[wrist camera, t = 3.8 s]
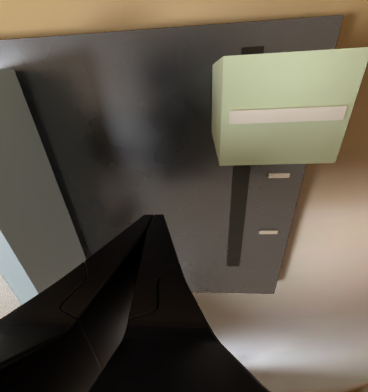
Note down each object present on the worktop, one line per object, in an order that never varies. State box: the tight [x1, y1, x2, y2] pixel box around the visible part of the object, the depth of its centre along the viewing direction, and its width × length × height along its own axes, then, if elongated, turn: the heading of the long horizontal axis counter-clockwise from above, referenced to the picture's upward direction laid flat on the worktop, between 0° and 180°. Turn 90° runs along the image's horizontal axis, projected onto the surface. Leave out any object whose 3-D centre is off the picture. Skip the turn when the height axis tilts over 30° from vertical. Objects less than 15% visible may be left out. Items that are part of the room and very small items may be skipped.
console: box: [0, 15, 343, 294], centre depth 12 cm, size 15×16×1 cm
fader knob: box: [212, 47, 368, 166], centre depth 7 cm, size 2×3×4 cm
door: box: [0, 69, 86, 305], centre depth 10 cm, size 14×2×4 cm, turn 3°
